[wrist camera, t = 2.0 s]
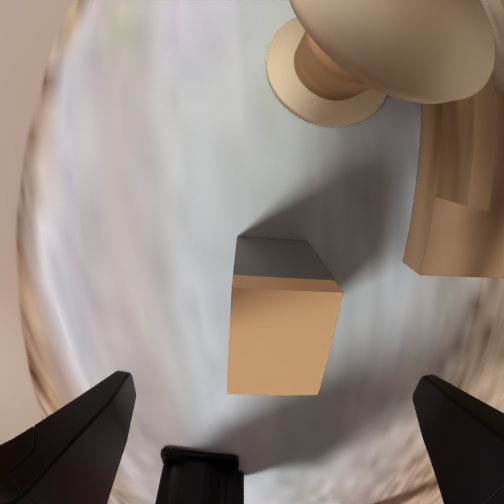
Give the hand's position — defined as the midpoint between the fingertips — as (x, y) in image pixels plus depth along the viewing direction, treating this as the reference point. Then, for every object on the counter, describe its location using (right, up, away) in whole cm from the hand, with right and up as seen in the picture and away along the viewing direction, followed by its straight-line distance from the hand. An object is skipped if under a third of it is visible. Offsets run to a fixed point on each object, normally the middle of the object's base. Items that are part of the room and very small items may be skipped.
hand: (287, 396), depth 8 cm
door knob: (+3, +13, +4) cm, 14 cm away
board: (+12, +8, +6) cm, 16 cm away
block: (0, +3, +8) cm, 8 cm away
